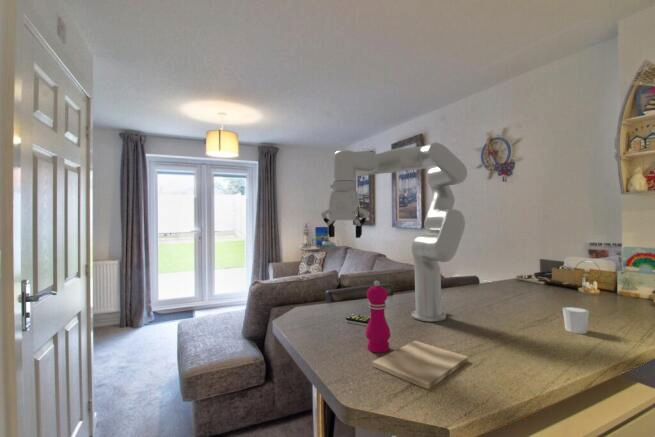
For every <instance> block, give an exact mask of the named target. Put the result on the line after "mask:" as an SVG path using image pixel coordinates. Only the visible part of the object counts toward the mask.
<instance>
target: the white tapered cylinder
mask: <svg viewBox="0 0 655 437" xmlns="http://www.w3.org/2000/svg"><path fill="white" fill-rule="evenodd" d="M589 313H590V312H589V310H587V309H586V308H585V309H584V308H581V307H574V306H565V307H562V314H563V321H564V329H565V331H566V332H567V331H568V332H570V333H574V334H583V335H584V334H587V333H588V326H589Z"/></svg>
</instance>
